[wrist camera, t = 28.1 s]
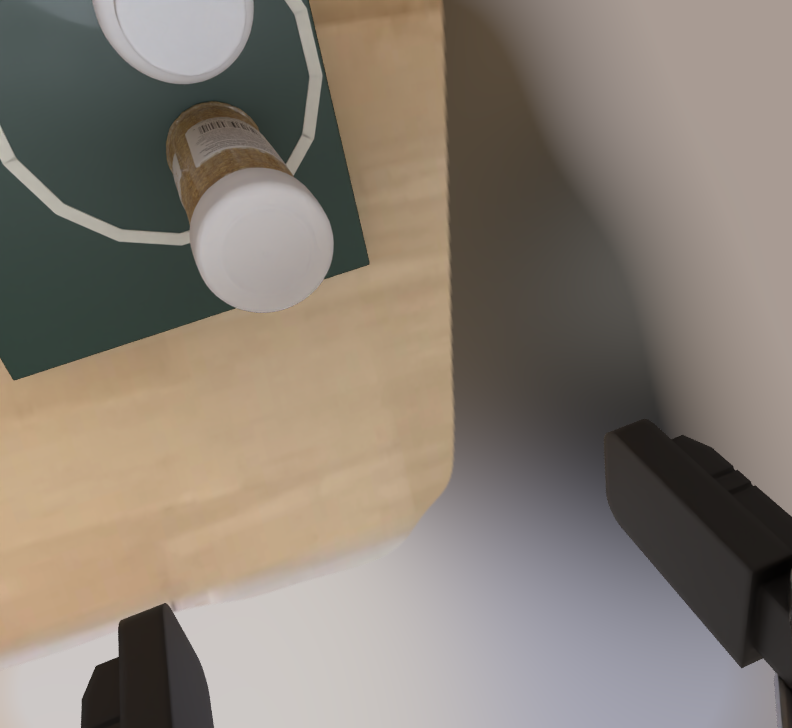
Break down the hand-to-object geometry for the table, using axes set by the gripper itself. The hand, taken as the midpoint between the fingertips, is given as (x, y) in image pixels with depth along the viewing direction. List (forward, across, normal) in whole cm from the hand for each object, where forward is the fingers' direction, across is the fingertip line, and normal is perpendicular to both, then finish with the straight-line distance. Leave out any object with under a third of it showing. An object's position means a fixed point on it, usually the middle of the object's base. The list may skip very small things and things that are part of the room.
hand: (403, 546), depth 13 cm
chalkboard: (+28, +4, -2) cm, 28 cm away
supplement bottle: (+27, 0, -7) cm, 28 cm away
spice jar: (+27, 0, 0) cm, 27 cm away
